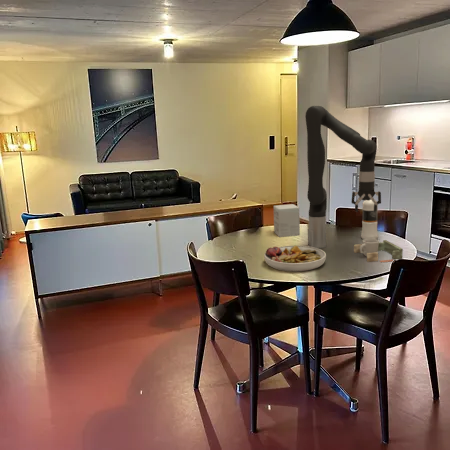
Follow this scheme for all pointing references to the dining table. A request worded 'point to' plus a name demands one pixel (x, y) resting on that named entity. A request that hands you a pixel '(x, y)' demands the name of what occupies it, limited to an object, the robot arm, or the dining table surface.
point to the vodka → (369, 220)
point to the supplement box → (286, 220)
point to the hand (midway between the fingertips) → (365, 211)
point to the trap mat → (386, 260)
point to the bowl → (294, 258)
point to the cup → (369, 246)
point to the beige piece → (383, 245)
